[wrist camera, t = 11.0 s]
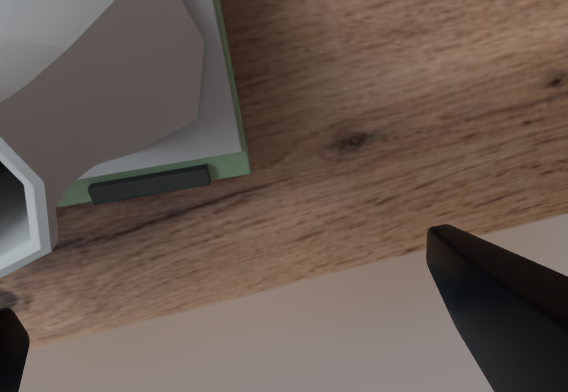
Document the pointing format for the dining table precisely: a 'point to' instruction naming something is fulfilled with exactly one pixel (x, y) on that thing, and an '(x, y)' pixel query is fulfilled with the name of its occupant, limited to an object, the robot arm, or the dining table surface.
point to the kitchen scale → (182, 133)
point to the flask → (83, 100)
